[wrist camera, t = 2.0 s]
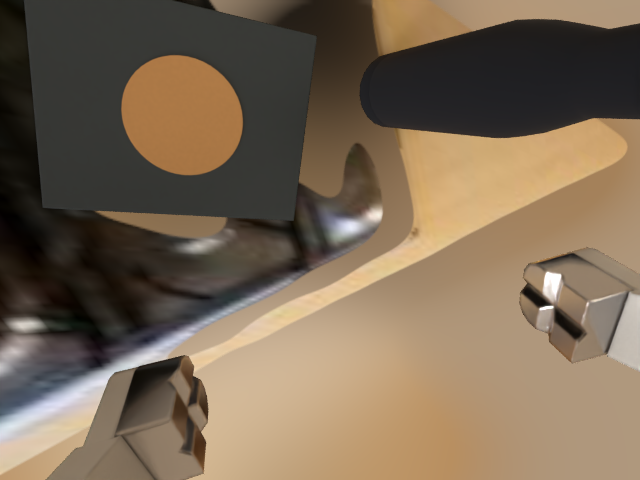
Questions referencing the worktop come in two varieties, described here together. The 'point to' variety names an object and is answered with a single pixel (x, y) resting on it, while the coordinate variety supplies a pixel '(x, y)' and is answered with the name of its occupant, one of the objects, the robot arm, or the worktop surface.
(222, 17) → the centre mat
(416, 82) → the wine bottle
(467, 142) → the worktop surface
